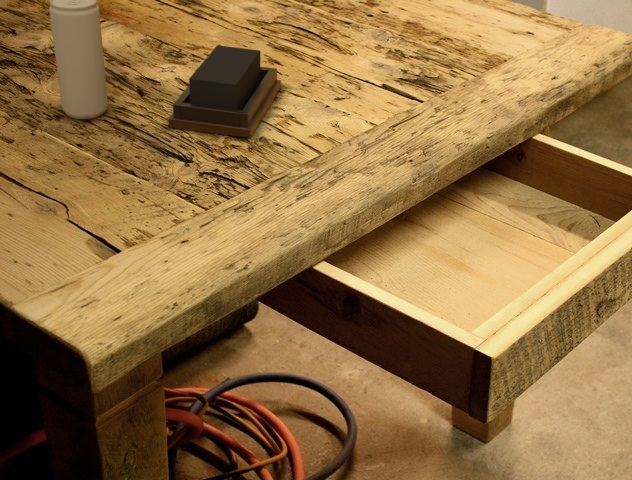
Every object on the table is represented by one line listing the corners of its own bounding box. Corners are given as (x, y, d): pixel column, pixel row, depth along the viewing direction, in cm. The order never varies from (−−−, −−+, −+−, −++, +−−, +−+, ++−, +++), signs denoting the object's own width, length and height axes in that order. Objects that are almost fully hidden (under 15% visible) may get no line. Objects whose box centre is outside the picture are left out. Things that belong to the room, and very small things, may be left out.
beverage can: (112, 103, 101) (102, -7, 94) (103, 122, 97) (93, 9, 90) (67, 101, 101) (54, -9, 94) (57, 120, 97) (42, 7, 90)
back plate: (250, 138, 96) (250, 116, 95) (168, 127, 97) (167, 105, 96) (281, 88, 107) (281, 67, 106) (207, 78, 108) (207, 58, 107)
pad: (236, 120, 97) (236, 84, 95) (190, 114, 98) (188, 78, 95) (260, 84, 105) (260, 50, 103) (217, 78, 106) (217, 44, 104)
